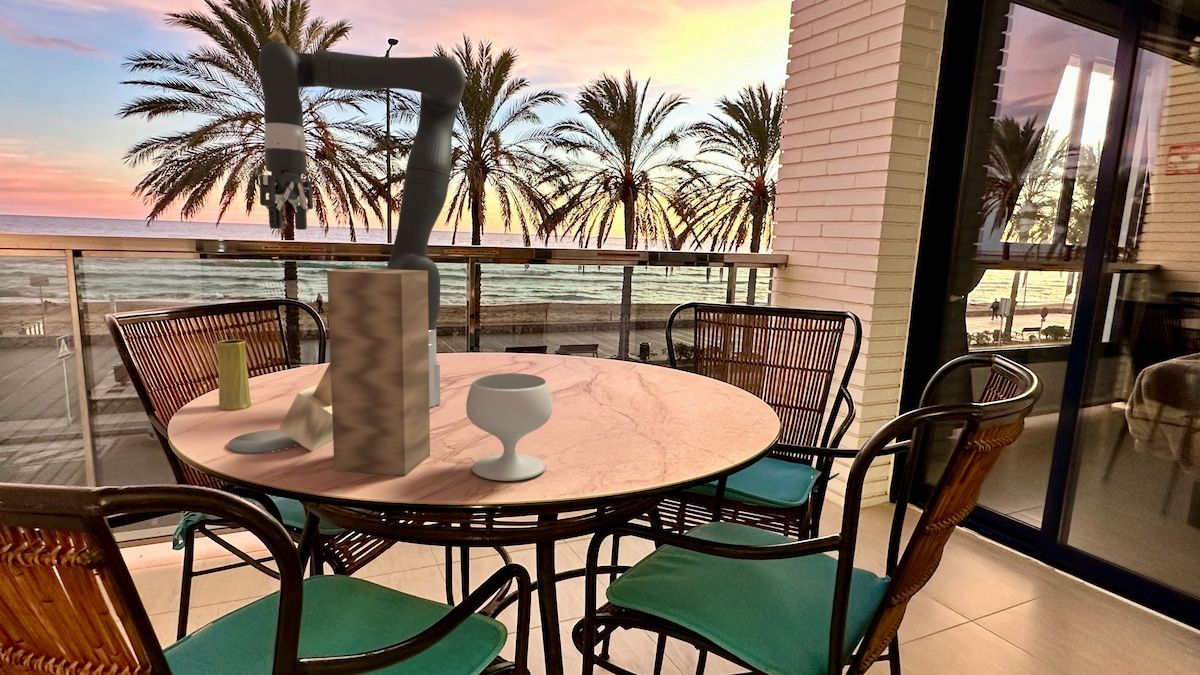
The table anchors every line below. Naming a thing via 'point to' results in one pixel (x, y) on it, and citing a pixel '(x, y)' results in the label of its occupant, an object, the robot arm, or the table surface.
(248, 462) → the table surface
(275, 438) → the grey flat disc
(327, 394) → the mallet
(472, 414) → the chalice
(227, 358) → the vase
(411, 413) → the herringbone wood pillar
